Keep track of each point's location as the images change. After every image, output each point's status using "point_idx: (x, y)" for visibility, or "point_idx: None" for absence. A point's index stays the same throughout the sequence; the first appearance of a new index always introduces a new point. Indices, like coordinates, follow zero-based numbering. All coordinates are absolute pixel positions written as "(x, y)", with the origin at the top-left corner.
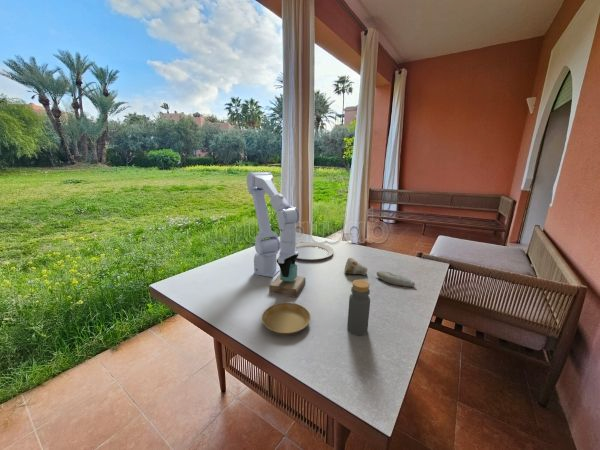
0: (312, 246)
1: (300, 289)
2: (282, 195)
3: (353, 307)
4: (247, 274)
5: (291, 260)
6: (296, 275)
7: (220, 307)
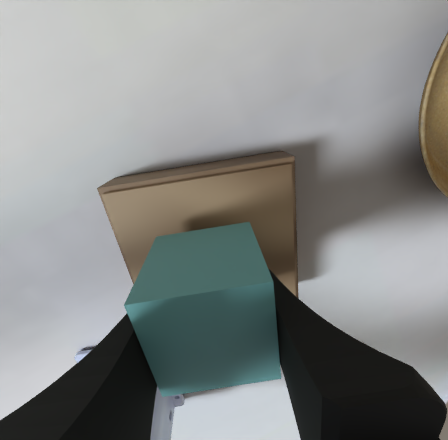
0: None
1: (214, 164)
2: None
3: None
4: (197, 410)
5: (131, 390)
6: (164, 239)
7: (427, 351)
